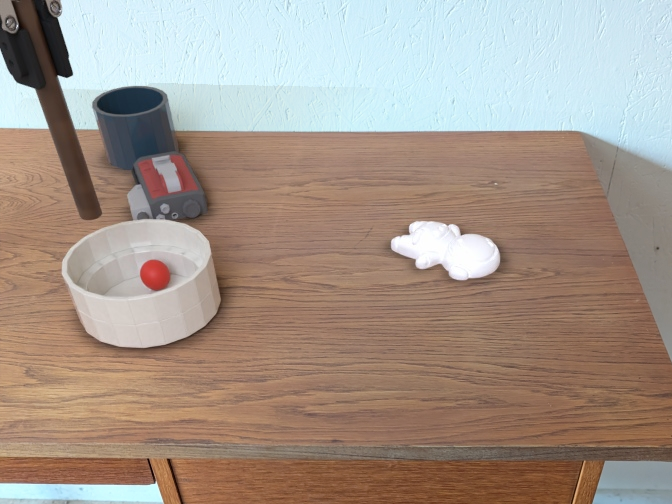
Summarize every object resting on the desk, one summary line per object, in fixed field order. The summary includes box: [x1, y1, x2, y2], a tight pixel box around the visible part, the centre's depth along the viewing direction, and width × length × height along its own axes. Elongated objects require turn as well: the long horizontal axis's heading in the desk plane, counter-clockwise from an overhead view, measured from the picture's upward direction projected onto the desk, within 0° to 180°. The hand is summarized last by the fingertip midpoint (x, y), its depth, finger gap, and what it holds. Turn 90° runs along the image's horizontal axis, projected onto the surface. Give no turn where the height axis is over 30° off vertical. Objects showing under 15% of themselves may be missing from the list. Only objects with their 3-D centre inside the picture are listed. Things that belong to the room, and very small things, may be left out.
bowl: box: [61, 219, 222, 349], centre depth 72 cm, size 14×14×6 cm
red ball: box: [140, 260, 170, 290], centre depth 75 cm, size 3×3×3 cm
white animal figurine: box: [390, 220, 501, 281], centre depth 79 cm, size 9×12×3 cm
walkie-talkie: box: [126, 151, 209, 221], centre depth 85 cm, size 9×4×20 cm
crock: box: [91, 85, 180, 171], centre depth 93 cm, size 9×9×7 cm
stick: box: [11, 0, 103, 221], centre depth 60 cm, size 2×2×17 cm
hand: (44, 77), depth 58 cm, fingers closed on stick, 2 cm apart
